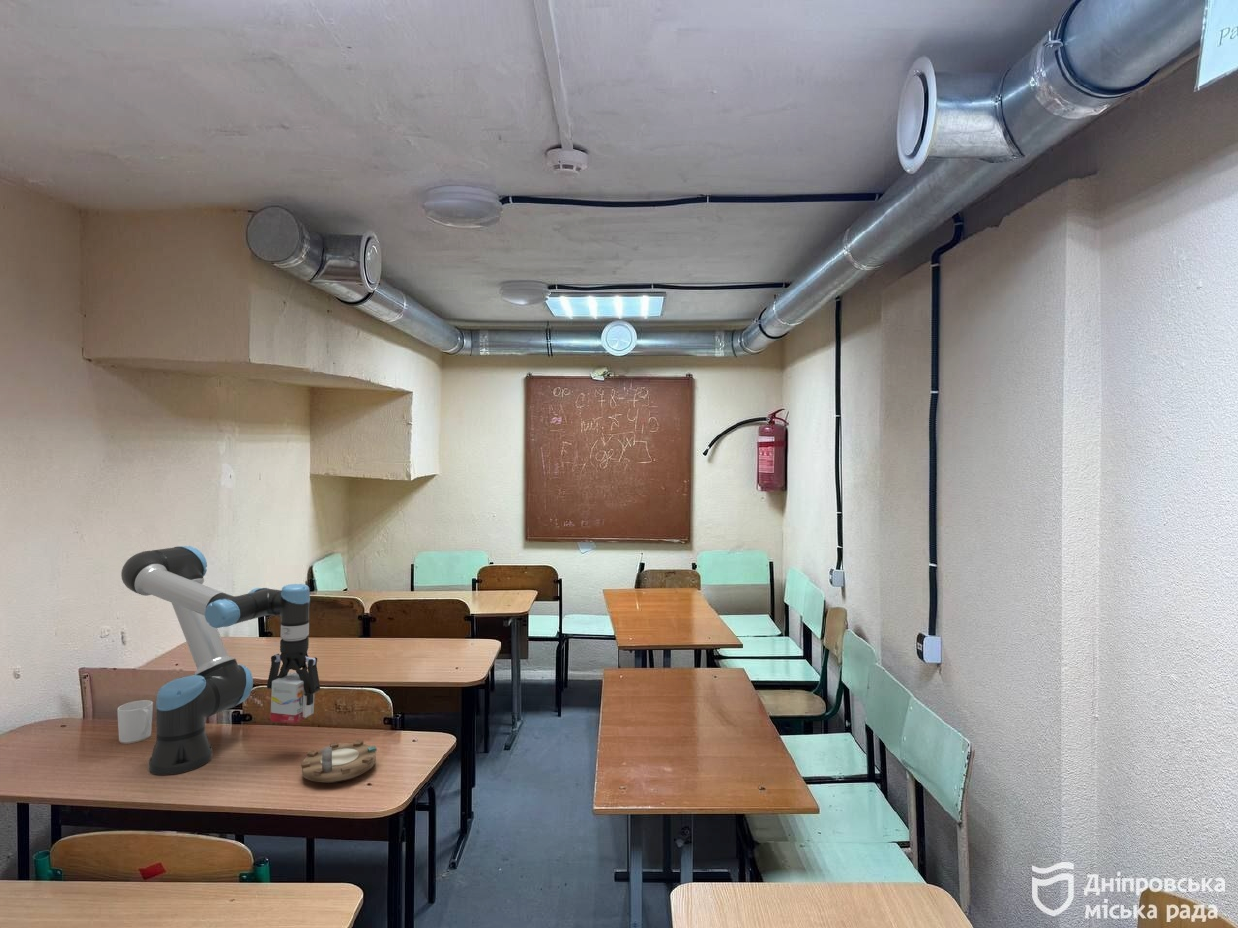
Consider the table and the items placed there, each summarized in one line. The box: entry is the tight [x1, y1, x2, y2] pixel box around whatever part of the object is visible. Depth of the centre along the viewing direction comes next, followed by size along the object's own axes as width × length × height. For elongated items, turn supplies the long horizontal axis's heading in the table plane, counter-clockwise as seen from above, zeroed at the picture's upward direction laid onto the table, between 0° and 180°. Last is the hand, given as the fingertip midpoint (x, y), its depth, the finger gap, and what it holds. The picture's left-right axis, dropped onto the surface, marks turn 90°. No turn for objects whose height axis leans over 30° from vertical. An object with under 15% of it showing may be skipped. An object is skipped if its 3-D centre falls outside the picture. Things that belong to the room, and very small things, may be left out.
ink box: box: [269, 672, 315, 725], centre depth 190 cm, size 9×9×12 cm
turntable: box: [300, 739, 377, 783], centre depth 181 cm, size 19×19×8 cm
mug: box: [116, 699, 154, 745], centre depth 201 cm, size 11×9×10 cm
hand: (292, 713), depth 190 cm, fingers closed on ink box, 9 cm apart
